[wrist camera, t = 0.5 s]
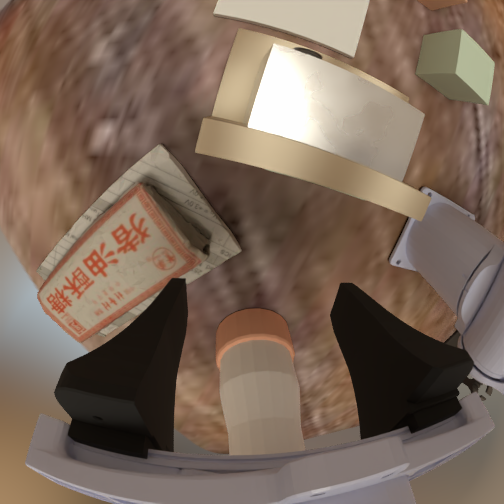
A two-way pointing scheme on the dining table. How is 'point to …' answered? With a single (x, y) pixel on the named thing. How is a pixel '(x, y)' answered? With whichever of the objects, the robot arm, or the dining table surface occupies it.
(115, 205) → the packaged product
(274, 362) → the pepper shaker
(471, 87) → the sage block
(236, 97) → the beige box
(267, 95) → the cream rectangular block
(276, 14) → the mat
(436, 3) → the terracotta block
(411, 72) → the dining table surface
